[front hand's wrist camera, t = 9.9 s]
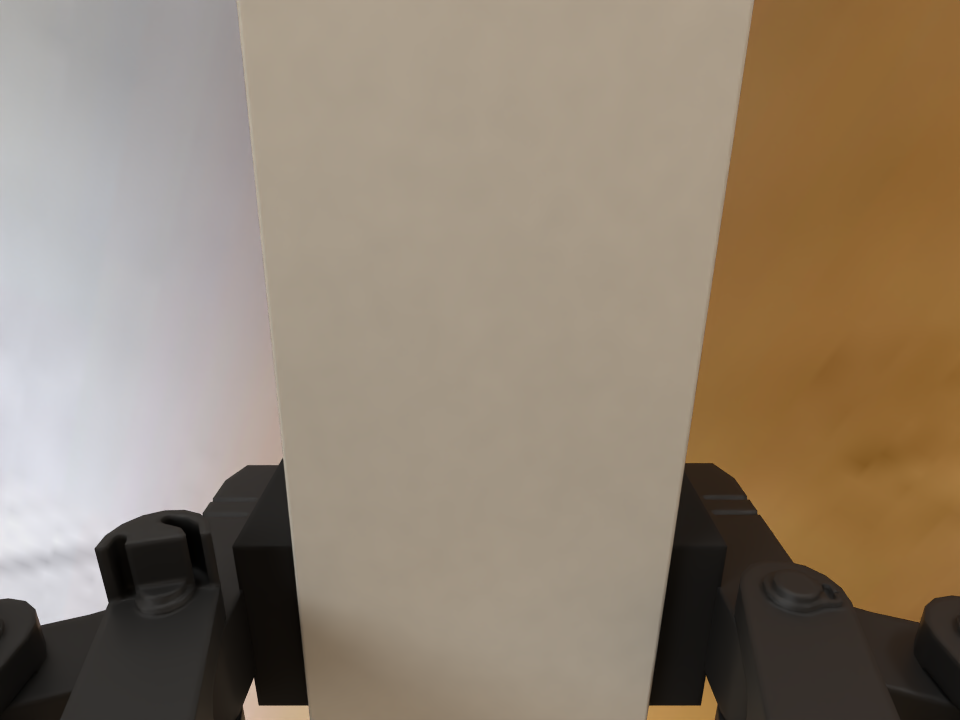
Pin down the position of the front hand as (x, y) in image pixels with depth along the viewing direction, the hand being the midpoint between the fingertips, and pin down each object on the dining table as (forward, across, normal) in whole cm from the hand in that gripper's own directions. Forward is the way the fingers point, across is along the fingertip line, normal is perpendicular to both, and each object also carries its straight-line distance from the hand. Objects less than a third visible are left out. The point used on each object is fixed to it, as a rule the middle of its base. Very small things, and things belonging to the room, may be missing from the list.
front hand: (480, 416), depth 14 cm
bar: (+1, -1, -31) cm, 31 cm away
